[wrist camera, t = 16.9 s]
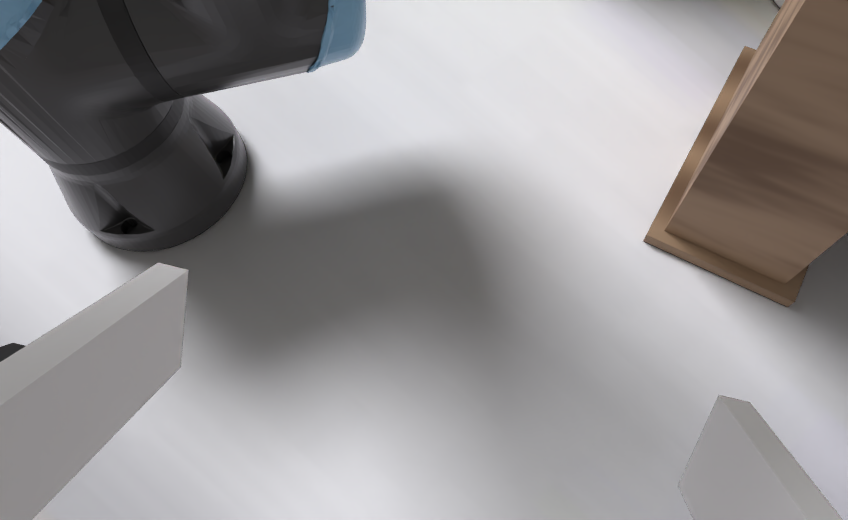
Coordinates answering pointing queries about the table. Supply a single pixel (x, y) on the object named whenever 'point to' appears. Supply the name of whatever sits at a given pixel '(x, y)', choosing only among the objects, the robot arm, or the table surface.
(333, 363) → the table surface
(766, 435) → the robot arm
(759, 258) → the stand
